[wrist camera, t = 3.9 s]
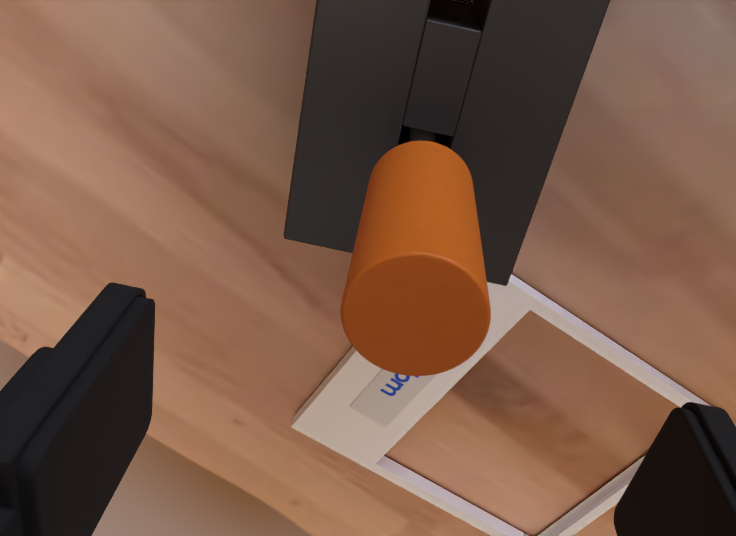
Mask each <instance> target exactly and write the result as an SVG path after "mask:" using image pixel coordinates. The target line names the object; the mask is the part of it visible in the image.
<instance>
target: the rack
mask: <svg viewBox="0 0 736 536" xmlns="http://www.w3.org/2000/svg"><path fill="white" fill-rule="evenodd" d="M609 2H610V0H474V1H473V4H472V5H470V4H466V3H461V2H457V1H452V0H317V1H316V8H315V15H314V22H313V30H312V37H311V44H310V51H309V58H308V65H307V72H306V79H305V86H304V93H303V100H302V108H301V115H300V122H299V129H298V136H297V143H296V150H295V157H294V164H293V171H292V178H291V186H290V193H289V200H288V207H287V214H286V221H285V228H284V235H283V236H284V238H285V239H289V240H294V241H298V242H303V243H308V244H312V245H317V246H322V247H327V248H331V249H336V250H341V251H345V252H350V253H353V250H354V245H355V241H356V237H357V232H358V228H359V223H360V219H361V215H362V210H363V206H364V201H365V197H366V193H367V188H368V184H369V180H370V176H371V173H372V171H373V169H374V167H375V165H376V164H377V162H378V161H379V160H380V158H381V157H382V156H383V155H384V154H386V153H387V152H388V151H390V150H391V149H393V148H394V147H396V146H398V145H401V144H404V143H407V142H409V136H410V127H411V128H416V129H420V130H425V131H430V132H434V133H436V143H438V144H441V145H443V146H446V147H448V148H449V149H451V150H453V151H454V152H455V153H456V154H458V155H459V156H460V158H461V159H462V160H463V161H464V162H465V164H466V165H467V167H468V169H469V171H470V174H471V177H472V181H473V188H474V195H475V202H476V209H477V216H478V223H479V230H480V237H481V244H482V251H483V258H484V265H485V272H486V279H487V282H489V283H494V284H499V285H503V286H507V284H508V282H509V279H510V276H511V273H512V271H513V268H514V265H515V262H516V260H517V257H518V254H519V251H520V248H521V246H522V243H523V240H524V237H525V235H526V232H527V229H528V226H529V224H530V221H531V218H532V215H533V213H534V210H535V207H536V204H537V201H538V199H539V196H540V193H541V190H542V188H543V185H544V182H545V179H546V177H547V174H548V171H549V168H550V166H551V163H552V160H553V157H554V154H555V152H556V149H557V146H558V143H559V141H560V138H561V135H562V132H563V130H564V127H565V124H566V121H567V119H568V116H569V113H570V110H571V108H572V105H573V102H574V99H575V96H576V94H577V91H578V88H579V85H580V83H581V80H582V77H583V74H584V72H585V69H586V66H587V63H588V61H589V58H590V55H591V52H592V49H593V47H594V44H595V41H596V38H597V36H598V33H599V30H600V27H601V25H602V22H603V19H604V16H605V14H606V11H607V8H608V5H609Z"/></svg>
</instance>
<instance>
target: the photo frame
mask: <svg viewBox="0 0 736 536" xmlns="http://www.w3.org/2000/svg"><path fill="white" fill-rule="evenodd" d="M487 286H488V293H489V301H490V308H491V320H490V326H489V330H488V333H487V335H486V337H485V340H484V341H483V343H482V344H481V346H480V347H479V349H478V350H477V351H476V352H475V353H474V354H473V355H472V356H471V357H470V358H469V359H468V360H466V361H465V362H463V363H462V364H461V365H459V366H457V367H455V368H453V369H451V370H448V371H445V372H442V373H439V374H434V375H428V376H407V375H401V374H396V373H392V372H389V371H387V370H384V369H381V368H379V367H378V366H376V365H374V364H372V363H371V362H369V361H368V360H366V359H365V358H364V357H363V356H362V355H360V354H359V353H358V351H357V350H356V349H355V348H354V347H352V348H351V349H350V350H349V352H348V353H347V354H346V355H345V356H344V357H343V359H342V360H341V361H340V362H339V363H338V365H337V366H336V367H335V368H334V369H333V370H332V372H331V373H330V374H329V375H328V376H327V378H326V379H325V380H324V381H323V382H322V383H321V385H320V386H319V387H318V388H317V389H316V391H315V392H314V393H313V394H312V395H311V396H310V398H309V399H308V400H307V401H306V402H305V404H304V405H303V406H302V407H301V408H300V409H299V411H298V412H297V413H296V414H295V415H294V418H293V422H292V426H291V427H292V428H293V429H295V430H297V431H299V432H301V433H303V434H304V435H306V436H308V437H310V438H312V439H314V440H315V441H317V442H319V443H321V444H323V445H325V446H327V447H328V448H330V449H332V450H334V451H336V452H338V453H339V454H341V455H343V456H345V457H347V458H349V459H350V460H352V461H354V462H356V463H358V464H360V465H362V466H363V467H365V468H367V469H369V470H371V471H373V472H374V473H376V474H378V475H380V476H382V477H384V478H385V479H387V480H389V481H391V482H393V483H395V484H396V485H398V486H400V487H402V488H404V489H406V490H408V491H409V492H411V493H413V494H415V495H417V496H419V497H420V498H422V499H424V500H426V501H428V502H430V503H431V504H433V505H435V506H437V507H439V508H441V509H443V510H444V511H446V512H448V513H450V514H452V515H454V516H455V517H457V518H459V519H461V520H463V521H465V522H466V523H468V524H470V525H472V526H474V527H476V528H477V529H479V530H481V531H483V532H485V533H487V534H489V535H490V536H529V535H527V534H525V533H523V532H521V531H519V530H518V529H516V528H514V527H512V526H510V525H509V524H507V523H505V522H503V521H501V520H500V519H498V518H496V517H494V516H492V515H491V514H489V513H487V512H485V511H483V510H481V509H480V508H478V507H476V506H474V505H472V504H471V503H469V502H467V501H465V500H463V499H462V498H460V497H458V496H456V495H454V494H452V493H451V492H449V491H447V490H445V489H443V488H442V487H440V486H438V485H436V484H434V483H433V482H431V481H429V480H427V479H425V478H424V477H422V476H420V475H418V474H416V473H414V472H413V471H411V470H409V469H407V468H405V467H404V466H402V465H400V464H398V463H396V462H395V461H393V460H391V459H389V458H387V457H385V456H384V455H385V454H386V453H387V452H388V451H389V450H390V449H391V448H392V447H393V446H394V445H395V444H396V443H397V442H398V441H399V440H400V439H401V438H402V437H403V436H404V435H405V434H406V433H407V432H408V431H409V430H410V429H411V428H412V427H413V426H414V425H415V424H416V423H417V422H418V421H419V420H420V419H421V418H422V417H423V416H424V415H425V414H426V413H427V412H428V411H429V410H430V409H431V408H432V407H433V406H434V405H435V404H436V403H437V402H438V401H439V400H440V399H441V398H442V397H443V396H444V395H445V394H446V393H447V392H448V391H449V390H450V389H451V388H452V387H453V386H454V385H455V384H456V383H457V382H458V381H459V380H460V379H461V378H462V377H463V376H464V375H465V374H466V373H467V372H468V371H469V370H470V369H471V368H472V367H473V366H474V365H475V364H476V363H477V362H478V361H479V360H480V359H481V358H482V357H483V356H484V355H485V354H486V353H487V352H488V351H489V350H490V349H491V348H492V347H493V346H494V345H495V344H496V343H497V342H498V341H499V340H500V339H501V338H502V337H503V336H504V335H505V334H506V333H507V332H508V331H509V330H510V329H511V328H512V327H513V326H514V325H515V324H516V323H517V322H518V321H519V320H520V319H521V318H522V317H523V316H524V315H525V314H526V313H527V312H528V311H529V310H531V311H533V312H534V313H536V314H537V315H539V316H540V317H542V318H544V319H545V320H547V321H548V322H550V323H551V324H553V325H554V326H556V327H557V328H559V329H560V330H562V331H564V332H565V333H567V334H568V335H570V336H571V337H573V338H574V339H576V340H577V341H579V342H580V343H582V344H584V345H585V346H587V347H588V348H590V349H591V350H593V351H594V352H596V353H597V354H599V355H600V356H602V357H604V358H605V359H607V360H608V361H610V362H611V363H613V364H614V365H616V366H617V367H619V368H620V369H622V370H624V371H625V372H627V373H628V374H630V375H631V376H633V377H634V378H636V379H637V380H639V381H640V382H642V383H644V384H645V385H647V386H648V387H650V388H651V389H653V390H654V391H656V392H657V393H659V394H660V395H662V396H664V397H665V398H667V399H668V400H670V401H671V402H673V403H674V404H676V405H677V406H679V407H680V408H681V407H682V406H683V405H684V404H685V403H687V402H694V403H699V404H704V405H708V406H710V405H709V404H707V403H706V402H704V401H703V400H701V399H700V398H698V397H697V396H695V395H694V394H692V393H691V392H689V391H688V390H686V389H685V388H683V387H682V386H680V385H679V384H677V383H676V382H674V381H673V380H671V379H670V378H668V377H667V376H665V375H664V374H662V373H660V372H659V371H657V370H656V369H654V368H653V367H651V366H650V365H648V364H647V363H645V362H644V361H642V360H641V359H639V358H638V357H636V356H635V355H633V354H632V353H630V352H629V351H627V350H626V349H624V348H623V347H621V346H620V345H618V344H617V343H615V342H614V341H612V340H611V339H609V338H607V337H606V336H604V335H603V334H601V333H600V332H598V331H597V330H595V329H594V328H592V327H591V326H589V325H588V324H586V323H585V322H583V321H582V320H580V319H579V318H577V317H576V316H574V315H573V314H571V313H570V312H568V311H567V310H565V309H564V308H562V307H561V306H559V305H558V304H556V303H554V302H553V301H551V300H550V299H548V298H547V297H545V296H544V295H542V294H541V293H539V292H538V291H536V290H535V289H533V288H532V287H530V286H529V285H527V284H526V283H524V282H523V281H521V280H520V279H518V278H517V277H515V276H514V275H512V274H511V276H510V279H509V282H508V284H507V286H503V285H499V284H494V283H489V282H487ZM645 456H646V455H645ZM645 456H644V457H645ZM644 457H642V458H641V459H640V460H638V461H637V462H636V463H634V464H633V465H632V466H630V467H629V468H628V469H626V470H625V471H624V472H622V473H621V474H619V475H618V476H617V477H615V478H614V479H613V480H611V481H610V482H609V483H607V484H606V485H605V486H603V487H602V488H601V489H599V490H598V491H597V492H595V493H594V494H593V495H591V496H590V497H589V498H587V499H586V500H585V501H583V502H582V503H581V504H579V505H578V506H577V507H575V508H574V509H573V510H571V511H570V512H569V513H567V514H566V515H565V516H563V517H562V518H561V519H559V520H558V521H557V522H555V523H554V524H553V525H551V526H550V527H549V528H547V529H546V530H545V531H543V532H542V533H541V534H539V535H538V536H573V535H574V534H576V533H577V532H578V531H580V530H581V529H582V528H584V527H585V526H587V525H588V524H589V523H591V522H592V521H594V520H595V519H596V518H598V517H599V516H601V515H602V514H603V513H605V512H606V511H607V510H609V509H610V508H612V507H613V506H614V505H616V504H617V503H618V502H619V500H620V499H621V497H622V495H623V494H624V492H625V490H626V488H627V487H628V485H629V483H630V481H631V480H632V478H633V476H634V475H635V473H636V471H637V469H638V468H639V466H640V464H641V463H642V461H643V459H644Z"/></svg>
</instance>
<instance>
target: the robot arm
mask: <svg viewBox="0 0 736 536" xmlns="http://www.w3.org/2000/svg"><path fill="white" fill-rule="evenodd" d="M154 328H155V302H154V300H153V299H149V298H146V293H145V290H143V289H141V288H136V287H132V286H127V285H122V284H117V283H109V284H108V285H107V286H106V287H105V288H104V289H103V290H102V291H101V293H100V294H99V295H98V296H97V297H96V299H95V300H94V301H93V302H92V303H91V304H90V306H89V307H88V308H87V309H86V310H85V312H84V313H83V314H82V315H81V316H80V317H79V319H78V320H77V321H76V322H75V323H74V325H73V326H72V327H71V328H70V329H69V330H68V332H67V333H66V334H65V335H64V336H63V338H62V339H61V340H60V341H59V342H58V343H57V345H56V346H55V347H54V348H50V347H42V348H40V349H38V350H37V351H36V352H35V353H34V354H32V356H31V357H30V358H29V359H28V360H27V361H26V362H25V364H24V365H23V366H22V367H21V368H20V369H19V370H18V371H17V373H16V374H15V375H14V376H13V377H12V378H11V380H10V381H9V382H8V383H7V384H6V385H5V386H4V388H3V389H2V390H1V391H0V536H91V535H92V534H93V532H94V530H95V528H96V526H97V524H98V522H99V521H100V519H101V517H102V515H103V513H104V511H105V509H106V507H107V506H108V503H109V502H110V500H111V498H112V496H113V494H114V492H115V490H116V489H117V487H118V485H119V483H120V481H121V479H122V477H123V476H124V474H125V472H126V470H127V468H128V466H129V464H130V462H131V461H132V459H133V457H134V455H135V453H136V451H137V449H138V447H139V445H140V444H141V442H142V440H143V438H144V436H145V434H146V432H147V430H148V427H149V424H150V421H151V416H152V396H153V362H154ZM614 525H615V529H616V533H617V536H736V427H735V425H734V423H733V422H732V420H731V418H730V417H729V415H728V414H727V412H726V411H725V410H723V409H721V408H718V407H713V406H708V405H704V404H699V403H694V402H687V403H685V404H684V405H683V406H682V407H681V408H675V409H673V410H672V411H671V413H670V414H669V416H668V418H667V420H666V421H665V423H664V425H663V426H662V428H661V430H660V432H659V433H658V435H657V437H656V438H655V440H654V442H653V444H652V445H651V447H650V449H649V451H648V452H647V454H646V456H645V457H644V459H643V461H642V463H641V464H640V466H639V468H638V469H637V471H636V473H635V475H634V476H633V478H632V480H631V481H630V483H629V485H628V487H627V488H626V490H625V492H624V494H623V495H622V497H621V499H620V500H619V502H618V504H617V506H616V508H615V512H614Z"/></svg>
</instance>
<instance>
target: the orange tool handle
mask: <svg viewBox="0 0 736 536" xmlns="http://www.w3.org/2000/svg"><path fill="white" fill-rule="evenodd" d="M341 320H342V325H343V328H344V331H345V333H346V335H347V337H348V339H349V341H350V343H351V344H352V345H353V347H354V348H355V349H356V350H357V351H358V353H359V354H360V355H362V356H363V357H364V358H365V359H366V360H368V361H369V362H371V363H372V364H374V365H376V366H378V367H379V368H381V369H384V370H387V371H389V372H392V373H396V374H401V375H407V376H428V375H434V374H439V373H442V372H445V371H448V370H451V369H453V368H455V367H457V366H459V365H461V364H462V363H463V362H465V361H466V360H468V359H469V358H470V357H471V356H472V355H473V354H474V353H475V352H476V351H477V350H478V349H479V347H480V346H481V344H482V343H483V341H484V340H485V337H486V335H487V333H488V330H489V326H490V320H491V308H490V301H489V293H488V286H487V279H486V272H485V265H484V258H483V251H482V244H481V237H480V230H479V223H478V216H477V209H476V202H475V195H474V188H473V181H472V177H471V174H470V171H469V169H468V167H467V165H466V164H465V162H464V161H463V160H462V159H461V158H460V156H459V155H458V154H456V153H455V152H454V151H453V150H451V149H449V148H448V147H446V146H443V145H441V144H438V143H436V133H434V132H430V131H425V130H420V129H416V128H411V127H410V136H409V142H407V143H404V144H401V145H398V146H396V147H394V148H393V149H391V150H390V151H388V152H387V153H386V154H384V155H383V156H382V157H381V158H380V160H379V161H378V162H377V164H376V165H375V167H374V169H373V171H372V173H371V176H370V180H369V184H368V188H367V193H366V197H365V201H364V206H363V210H362V215H361V219H360V223H359V228H358V232H357V237H356V241H355V245H354V250H353V254H352V259H351V263H350V267H349V272H348V276H347V281H346V285H345V289H344V294H343V298H342V304H341Z"/></svg>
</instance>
